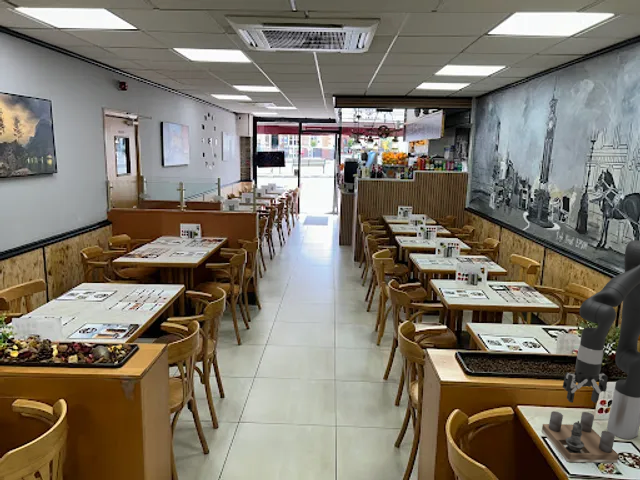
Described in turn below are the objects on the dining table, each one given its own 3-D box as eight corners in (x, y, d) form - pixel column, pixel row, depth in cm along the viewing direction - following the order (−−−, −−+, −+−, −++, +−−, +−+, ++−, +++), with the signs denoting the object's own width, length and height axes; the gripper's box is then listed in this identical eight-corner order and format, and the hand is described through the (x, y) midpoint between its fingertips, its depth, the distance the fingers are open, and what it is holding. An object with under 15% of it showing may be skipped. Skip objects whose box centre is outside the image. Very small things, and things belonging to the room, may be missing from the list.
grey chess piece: (578, 446, 176) (583, 417, 173) (585, 457, 170) (591, 426, 168) (561, 445, 176) (566, 415, 174) (568, 455, 171) (573, 424, 168)
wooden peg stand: (586, 431, 187) (590, 410, 186) (617, 462, 170) (622, 439, 168) (541, 431, 186) (545, 409, 184) (567, 462, 169) (571, 438, 167)
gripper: (602, 353, 171) (594, 396, 174) (563, 353, 170) (556, 395, 173) (616, 363, 163) (608, 407, 167) (575, 363, 162) (568, 407, 166)
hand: (581, 401), depth 170 cm, fingers open, 8 cm apart
